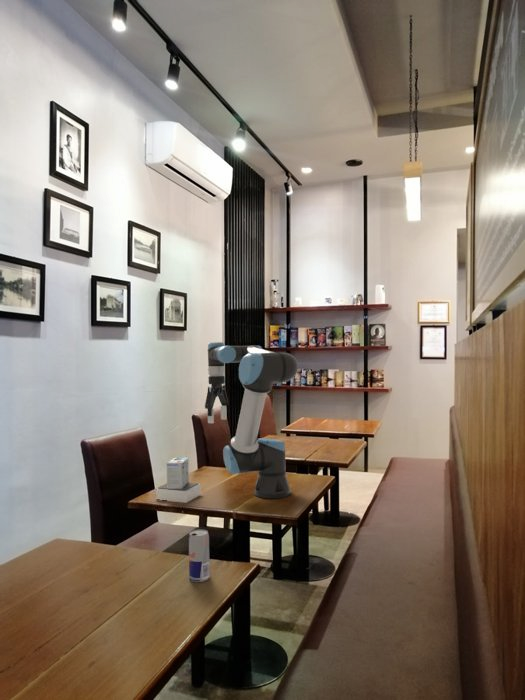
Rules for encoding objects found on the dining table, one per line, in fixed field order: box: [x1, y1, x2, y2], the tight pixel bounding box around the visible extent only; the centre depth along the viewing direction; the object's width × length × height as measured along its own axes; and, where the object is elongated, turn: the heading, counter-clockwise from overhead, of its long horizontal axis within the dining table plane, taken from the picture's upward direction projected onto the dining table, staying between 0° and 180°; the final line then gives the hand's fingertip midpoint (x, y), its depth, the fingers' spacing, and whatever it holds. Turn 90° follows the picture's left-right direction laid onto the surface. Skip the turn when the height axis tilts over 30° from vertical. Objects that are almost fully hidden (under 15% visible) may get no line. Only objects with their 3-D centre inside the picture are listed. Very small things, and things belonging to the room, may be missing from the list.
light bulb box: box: [166, 457, 190, 489], centre depth 210 cm, size 11×7×11 cm, turn 173°
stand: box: [155, 482, 201, 503], centre depth 210 cm, size 14×12×5 cm
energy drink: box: [188, 528, 211, 583], centre depth 132 cm, size 5×5×12 cm
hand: (217, 421), depth 232 cm, fingers open, 13 cm apart
